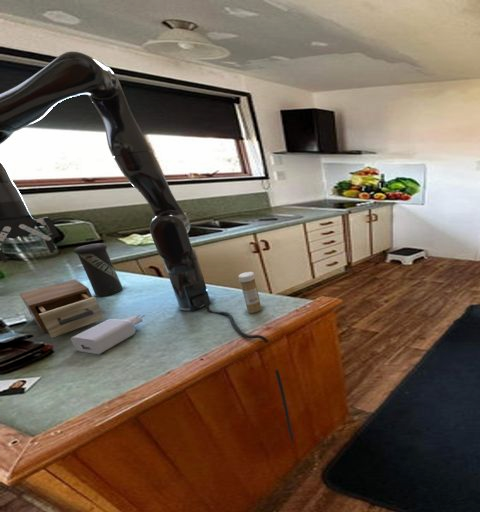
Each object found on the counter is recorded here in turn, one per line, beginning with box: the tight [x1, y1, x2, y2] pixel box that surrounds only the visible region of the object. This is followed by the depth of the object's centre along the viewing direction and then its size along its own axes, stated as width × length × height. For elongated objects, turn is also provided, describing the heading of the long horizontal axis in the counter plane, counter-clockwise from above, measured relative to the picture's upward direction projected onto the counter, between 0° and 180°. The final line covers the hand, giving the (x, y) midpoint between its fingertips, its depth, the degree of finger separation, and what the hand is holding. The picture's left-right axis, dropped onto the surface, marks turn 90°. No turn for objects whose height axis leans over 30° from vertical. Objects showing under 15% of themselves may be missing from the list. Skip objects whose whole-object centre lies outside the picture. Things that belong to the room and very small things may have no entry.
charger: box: [70, 314, 145, 355], centre depth 80 cm, size 5×9×15 cm
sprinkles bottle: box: [238, 271, 262, 314], centre depth 90 cm, size 5×5×14 cm
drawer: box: [36, 293, 106, 338], centre depth 85 cm, size 19×12×8 cm, turn 59°
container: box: [73, 242, 124, 297], centre depth 106 cm, size 9×9×20 cm
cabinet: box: [19, 279, 93, 334], centre depth 91 cm, size 16×13×10 cm
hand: (29, 257), depth 78 cm, fingers open, 8 cm apart
